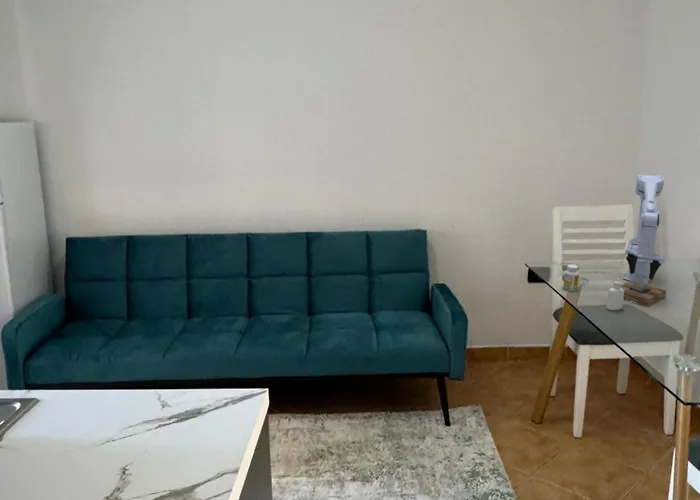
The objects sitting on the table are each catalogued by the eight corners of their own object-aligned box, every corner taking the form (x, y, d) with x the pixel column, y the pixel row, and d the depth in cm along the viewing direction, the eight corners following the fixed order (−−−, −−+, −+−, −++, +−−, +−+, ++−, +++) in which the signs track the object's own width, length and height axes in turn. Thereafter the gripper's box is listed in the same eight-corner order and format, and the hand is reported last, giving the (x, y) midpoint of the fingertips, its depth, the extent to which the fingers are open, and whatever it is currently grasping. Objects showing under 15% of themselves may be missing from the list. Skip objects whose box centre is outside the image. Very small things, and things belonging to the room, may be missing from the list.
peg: (636, 292, 255) (639, 273, 252) (646, 295, 252) (649, 276, 249) (631, 295, 253) (633, 276, 250) (640, 298, 250) (643, 278, 247)
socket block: (631, 287, 262) (631, 280, 261) (664, 297, 251) (666, 290, 250) (612, 295, 254) (613, 288, 253) (646, 306, 243) (647, 299, 242)
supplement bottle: (575, 286, 263) (578, 264, 260) (578, 291, 258) (581, 268, 255) (562, 285, 264) (564, 263, 261) (564, 290, 259) (567, 268, 256)
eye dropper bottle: (605, 305, 245) (609, 276, 241) (621, 307, 243) (625, 277, 239) (606, 310, 241) (610, 280, 237) (622, 311, 239) (626, 281, 235)
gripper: (623, 240, 248) (618, 273, 253) (659, 249, 238) (654, 283, 242) (632, 236, 253) (628, 269, 257) (669, 245, 242) (663, 279, 246)
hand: (641, 276), depth 250 cm, fingers open, 7 cm apart
